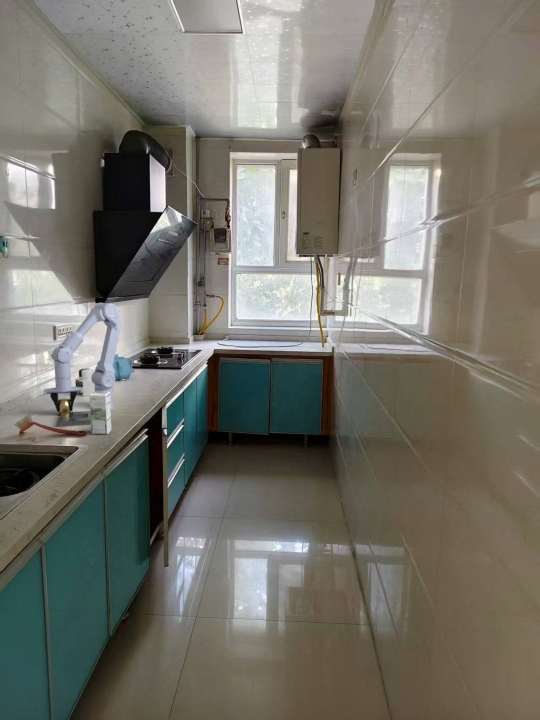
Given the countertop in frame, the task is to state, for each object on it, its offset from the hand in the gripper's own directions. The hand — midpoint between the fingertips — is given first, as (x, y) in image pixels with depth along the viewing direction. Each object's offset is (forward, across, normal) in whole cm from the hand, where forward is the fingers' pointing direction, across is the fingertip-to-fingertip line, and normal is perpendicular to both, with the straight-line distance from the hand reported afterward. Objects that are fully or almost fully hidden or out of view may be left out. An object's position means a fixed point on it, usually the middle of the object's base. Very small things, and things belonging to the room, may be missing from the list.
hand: (64, 411), depth 203 cm
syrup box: (+2, -14, +28) cm, 31 cm away
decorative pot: (+2, -21, -70) cm, 73 cm away
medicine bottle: (+2, -7, -36) cm, 37 cm away
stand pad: (+2, 0, 0) cm, 2 cm away
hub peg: (+1, 0, 0) cm, 1 cm away
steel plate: (+2, -6, +10) cm, 12 cm away
